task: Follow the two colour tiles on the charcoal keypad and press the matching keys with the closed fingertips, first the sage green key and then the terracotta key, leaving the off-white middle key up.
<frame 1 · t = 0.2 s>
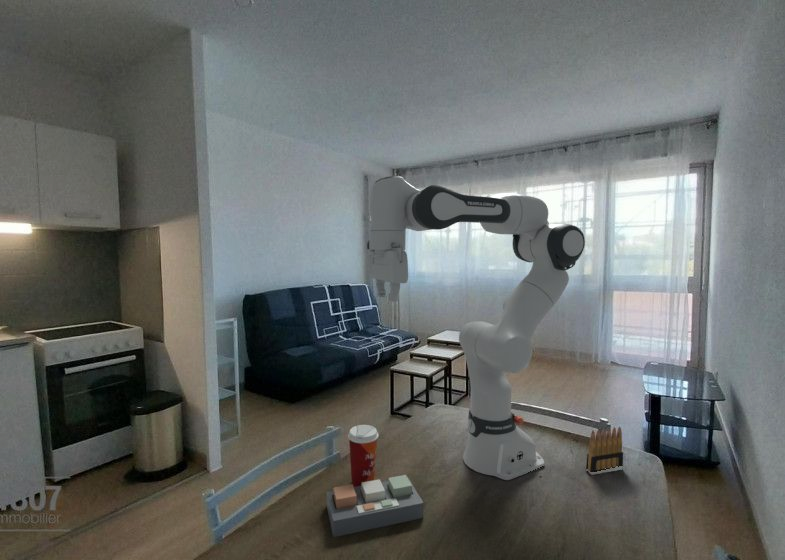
hand: (387, 299, 95), 47 cm above the table, tool pointing down, fingers open, 8 cm apart
keypad housing: (373, 511, 86), on the table
key terracotta: (344, 496, 85), point 4 cm above the table, slide at 0.0 cm
paper cup: (363, 484, 96), on the table
ammunition clip: (604, 471, 104), on the table
key sage: (399, 486, 89), point 4 cm above the table, slide at 0.0 cm
key white: (373, 491, 87), point 4 cm above the table, slide at 0.0 cm
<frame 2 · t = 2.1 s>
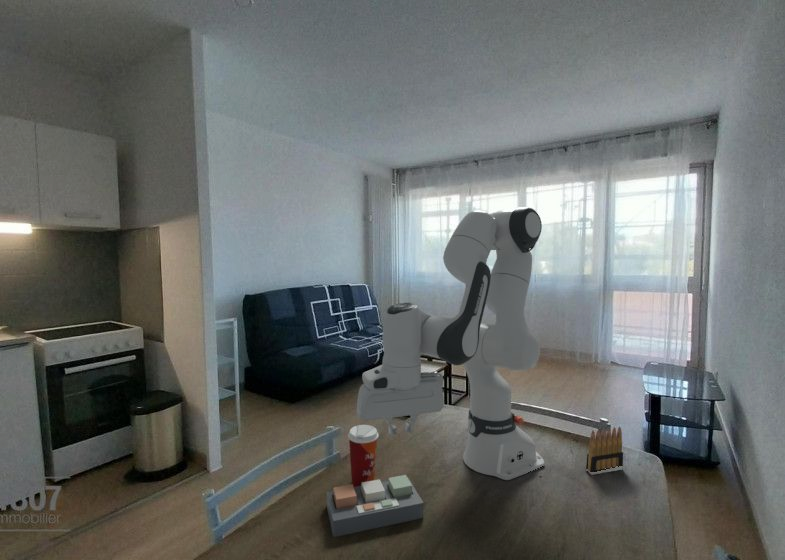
hand: (400, 433, 88), 17 cm above the table, tool pointing down, fingers open, 3 cm apart
nothing on the table moved.
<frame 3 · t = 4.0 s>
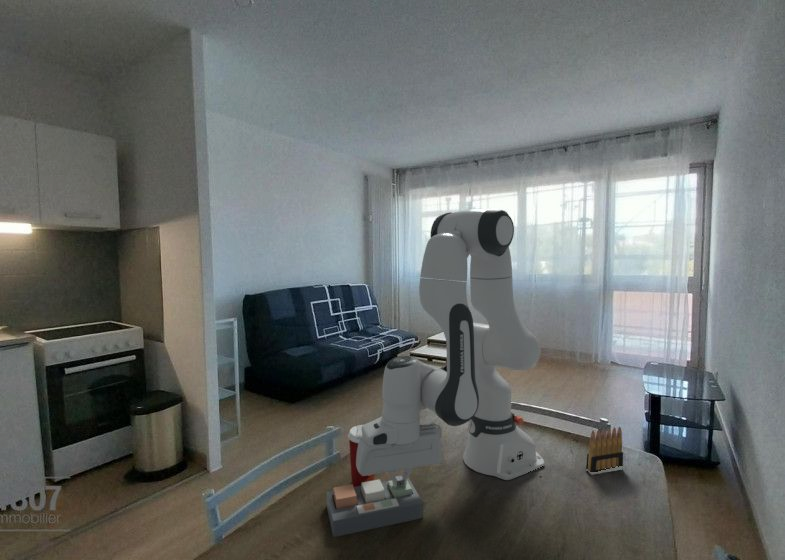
hand: (399, 485, 88), 5 cm above the table, tool pointing down, fingers closed
key sage: (399, 489, 89), point 3 cm above the table, slide at 0.8 cm, touching gripper
everything else where it was.
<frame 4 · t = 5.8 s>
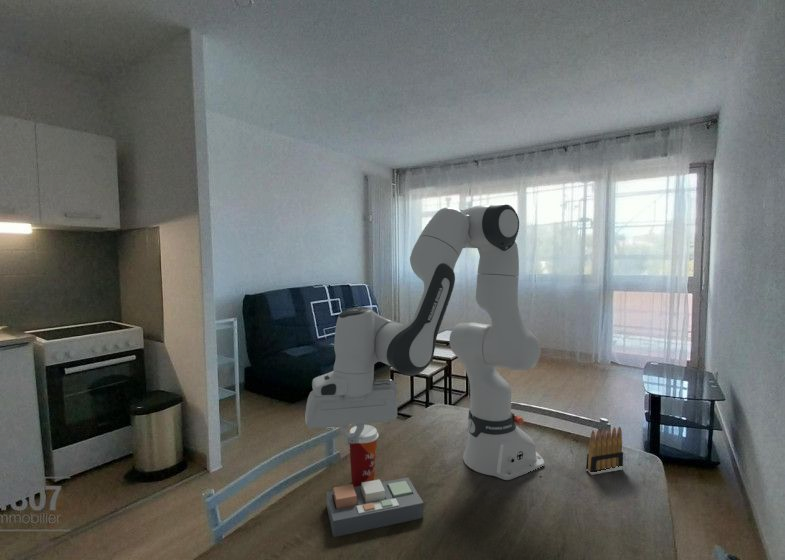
hand: (351, 442, 84), 17 cm above the table, tool pointing down, fingers closed
key sage: (399, 492, 89), point 3 cm above the table, slide at 1.5 cm
everything else where it was.
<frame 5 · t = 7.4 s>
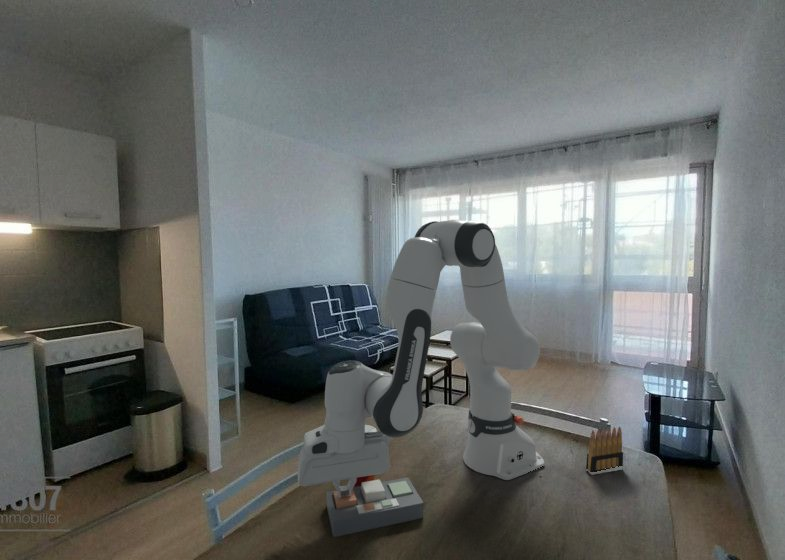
hand: (344, 495, 84), 5 cm above the table, tool pointing down, fingers closed, pressing on key terracotta
key terracotta: (344, 500, 85), point 3 cm above the table, slide at 0.9 cm, touching gripper
everything else where it was.
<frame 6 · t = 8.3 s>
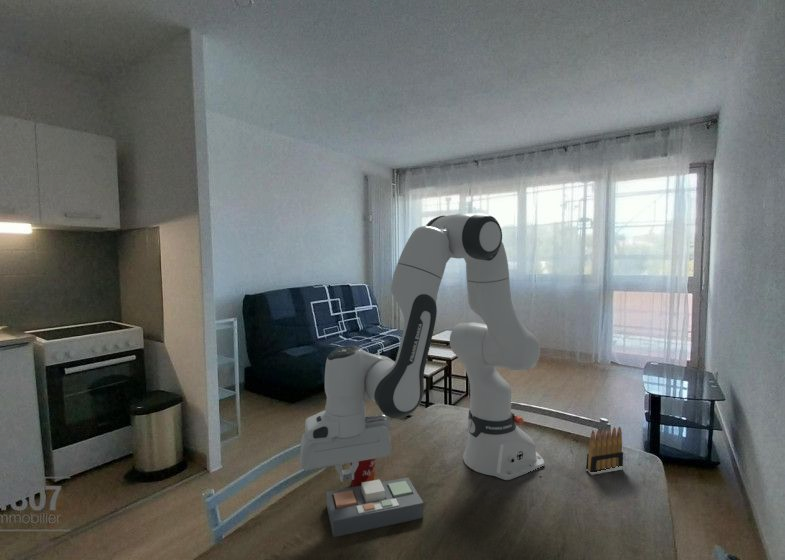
hand: (346, 479, 85), 8 cm above the table, tool pointing down, fingers closed
key terracotta: (344, 502, 85), point 3 cm above the table, slide at 1.4 cm
everything else where it was.
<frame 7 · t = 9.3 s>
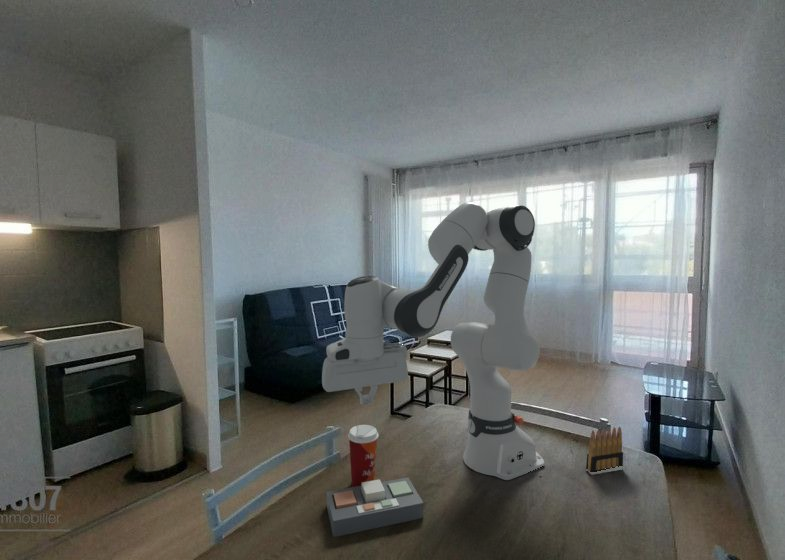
hand: (366, 403, 90), 23 cm above the table, tool pointing down, fingers closed
nothing on the table moved.
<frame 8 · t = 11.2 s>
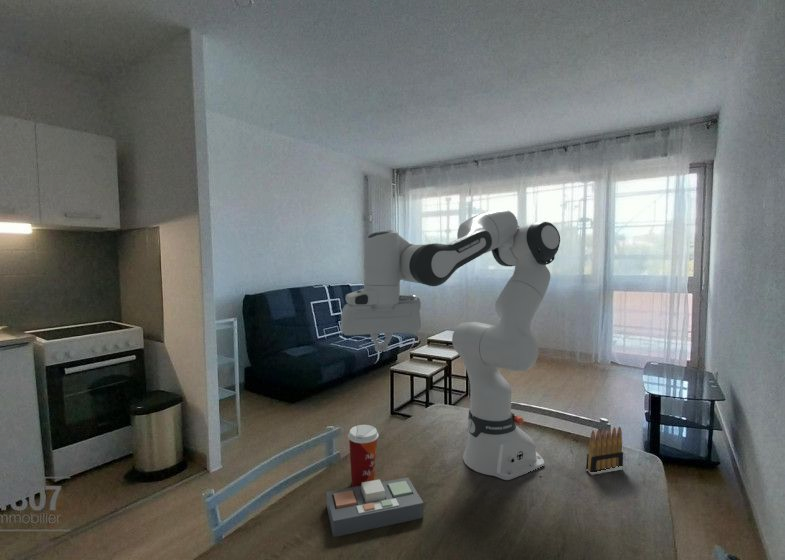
hand: (381, 350, 95), 34 cm above the table, tool pointing down, fingers closed
nothing on the table moved.
at the end: key sage slide at 1.5 cm; key terracotta slide at 1.4 cm; key white slide at 0.0 cm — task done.
